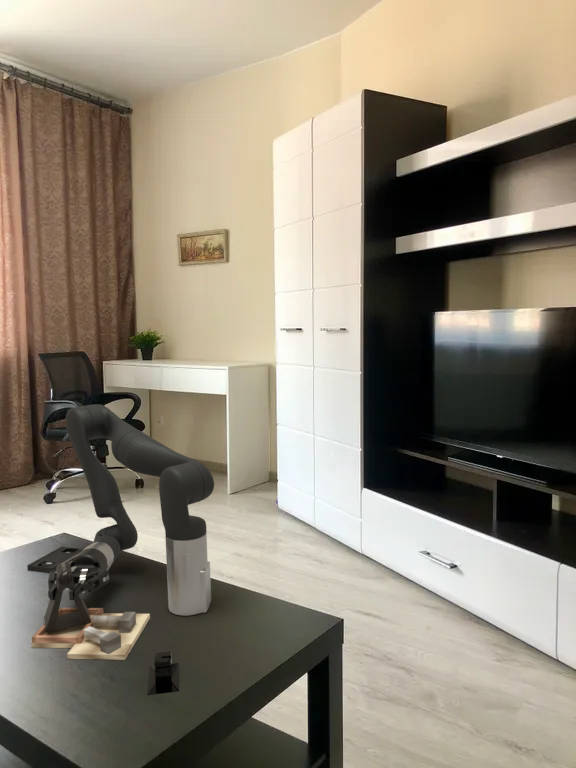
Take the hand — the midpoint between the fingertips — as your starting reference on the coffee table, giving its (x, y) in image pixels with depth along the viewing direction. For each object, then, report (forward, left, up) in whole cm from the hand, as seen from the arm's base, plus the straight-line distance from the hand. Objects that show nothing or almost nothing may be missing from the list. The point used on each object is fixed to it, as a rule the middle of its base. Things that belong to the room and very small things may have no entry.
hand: (61, 595), depth 128 cm
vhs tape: (+20, -41, -10) cm, 47 cm away
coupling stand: (-5, -1, -9) cm, 11 cm away
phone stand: (0, -3, -7) cm, 8 cm away
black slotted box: (-25, +14, -10) cm, 30 cm away
